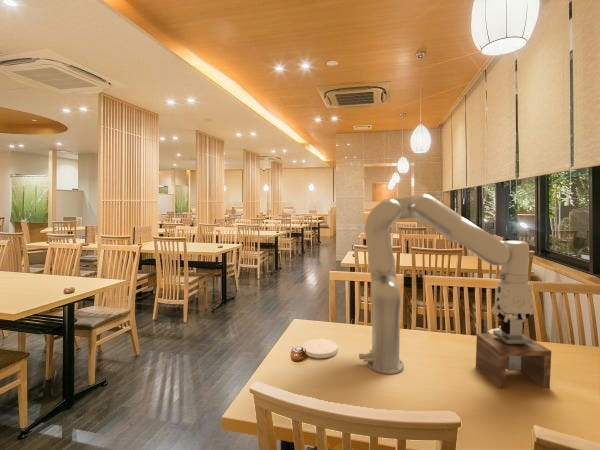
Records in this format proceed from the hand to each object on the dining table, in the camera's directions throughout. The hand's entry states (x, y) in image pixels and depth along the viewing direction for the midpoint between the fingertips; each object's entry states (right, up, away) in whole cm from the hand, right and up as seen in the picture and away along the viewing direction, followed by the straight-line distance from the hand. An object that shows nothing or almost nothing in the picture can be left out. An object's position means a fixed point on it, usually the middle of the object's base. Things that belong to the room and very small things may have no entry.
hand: (512, 331), depth 112 cm
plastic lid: (-63, -15, +21) cm, 68 cm away
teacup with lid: (+6, -14, +17) cm, 23 cm away
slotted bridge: (0, -15, +1) cm, 15 cm away
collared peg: (0, -12, +1) cm, 12 cm away
